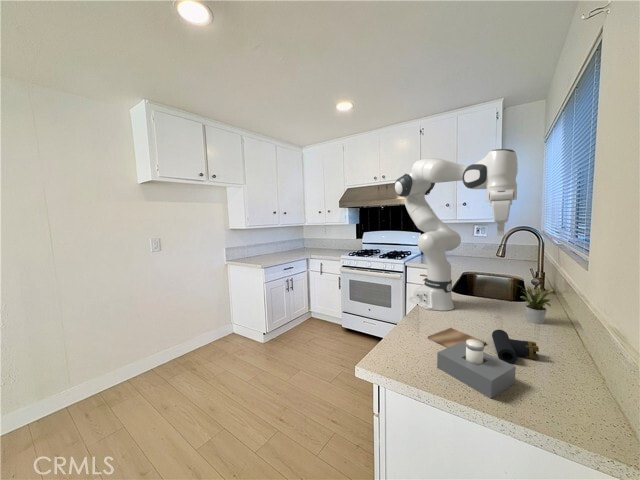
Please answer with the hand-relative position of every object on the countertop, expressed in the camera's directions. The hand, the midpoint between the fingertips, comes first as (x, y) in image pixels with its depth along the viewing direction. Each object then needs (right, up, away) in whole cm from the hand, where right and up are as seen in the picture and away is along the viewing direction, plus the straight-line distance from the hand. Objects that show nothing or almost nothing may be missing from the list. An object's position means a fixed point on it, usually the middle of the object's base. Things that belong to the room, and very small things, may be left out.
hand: (500, 234), depth 92 cm
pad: (-14, -40, +4) cm, 43 cm away
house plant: (+27, -37, +19) cm, 50 cm away
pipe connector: (+1, -41, -5) cm, 41 cm away
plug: (-19, -42, -15) cm, 49 cm away
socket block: (-19, -42, -15) cm, 49 cm away
